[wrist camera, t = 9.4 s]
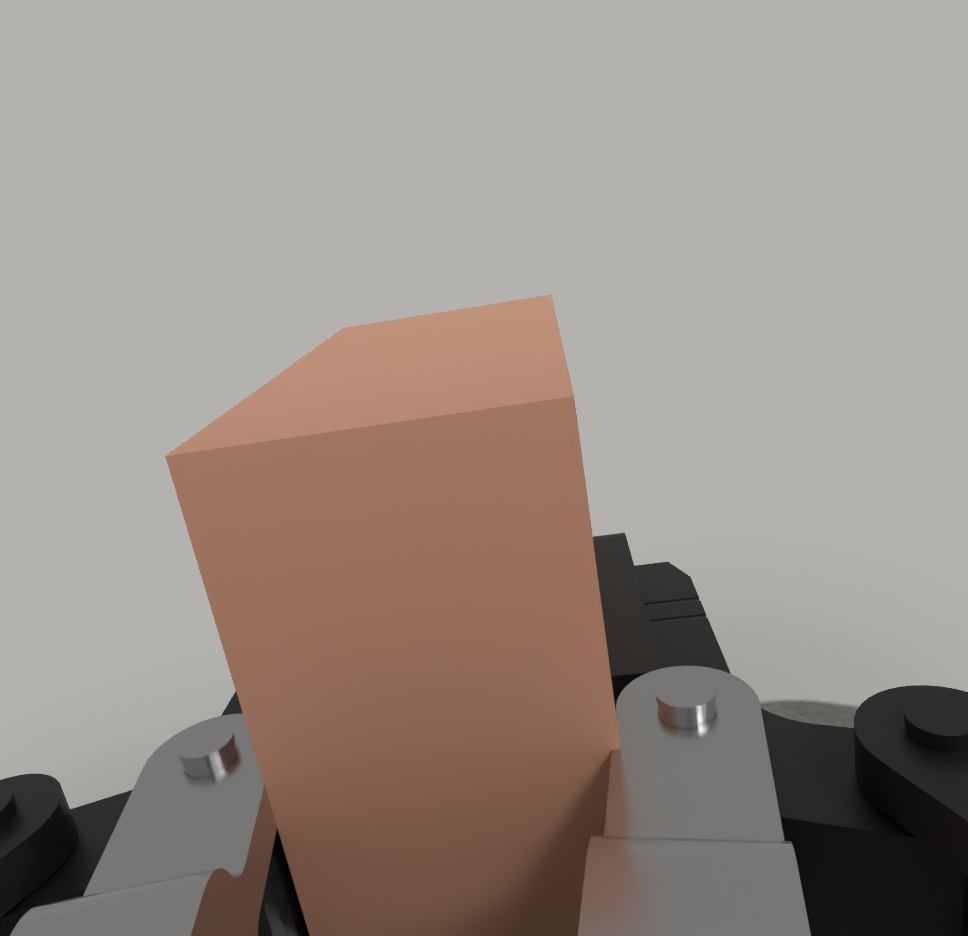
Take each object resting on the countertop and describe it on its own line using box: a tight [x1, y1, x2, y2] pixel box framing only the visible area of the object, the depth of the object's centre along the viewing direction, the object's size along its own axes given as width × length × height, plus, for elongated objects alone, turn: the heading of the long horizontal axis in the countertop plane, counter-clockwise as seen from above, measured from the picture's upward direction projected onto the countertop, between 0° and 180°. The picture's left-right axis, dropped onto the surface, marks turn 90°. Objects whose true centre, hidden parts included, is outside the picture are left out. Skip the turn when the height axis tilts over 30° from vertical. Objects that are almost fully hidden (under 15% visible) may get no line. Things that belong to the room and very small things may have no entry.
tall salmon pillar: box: [165, 295, 621, 936], centre depth 11 cm, size 3×6×14 cm, turn 177°
